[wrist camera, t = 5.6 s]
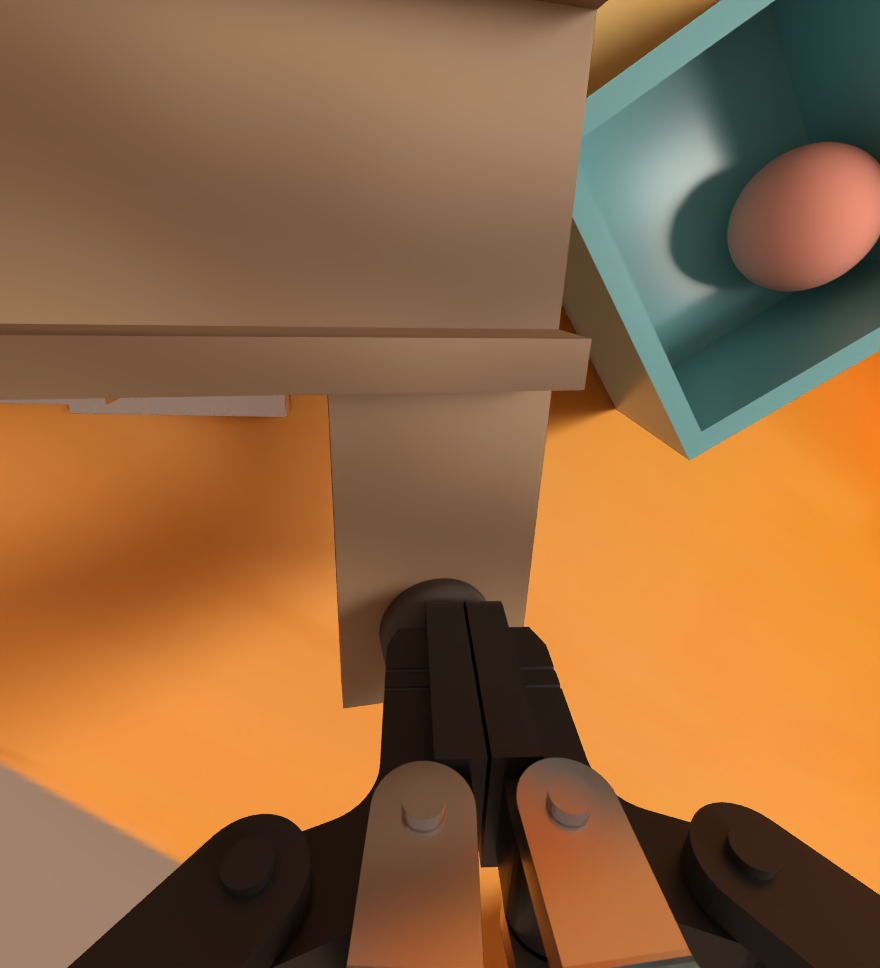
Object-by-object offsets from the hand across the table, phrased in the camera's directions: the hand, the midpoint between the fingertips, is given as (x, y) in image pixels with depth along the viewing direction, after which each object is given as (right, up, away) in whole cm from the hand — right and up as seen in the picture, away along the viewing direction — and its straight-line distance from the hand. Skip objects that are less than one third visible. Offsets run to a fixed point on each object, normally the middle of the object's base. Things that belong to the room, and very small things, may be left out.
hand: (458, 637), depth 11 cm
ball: (+8, +9, +2) cm, 13 cm away
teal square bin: (+6, +10, +4) cm, 13 cm away
